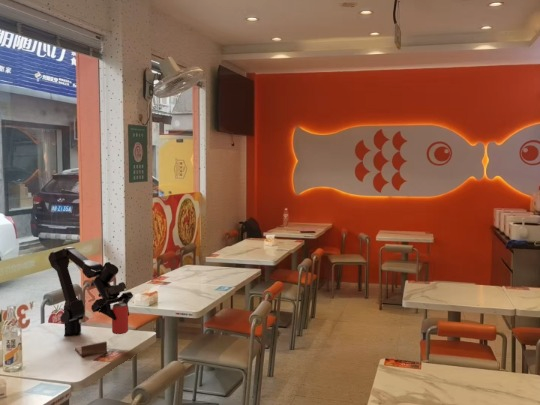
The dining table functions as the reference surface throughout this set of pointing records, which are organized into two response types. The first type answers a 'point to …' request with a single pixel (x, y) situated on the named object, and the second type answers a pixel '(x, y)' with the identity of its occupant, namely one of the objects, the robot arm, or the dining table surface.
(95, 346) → the walnut backstop pad
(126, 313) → the beer can
